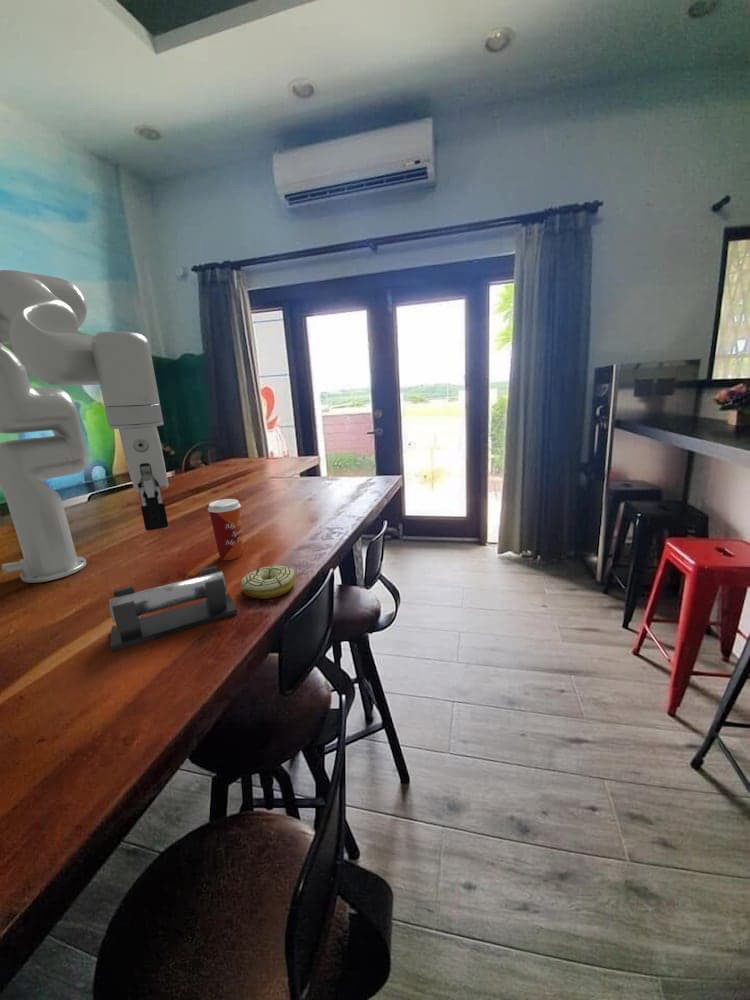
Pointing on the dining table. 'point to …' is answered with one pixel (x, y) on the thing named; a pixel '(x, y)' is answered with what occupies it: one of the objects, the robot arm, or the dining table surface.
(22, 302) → the robot arm
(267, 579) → the decorated donut
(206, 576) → the rail
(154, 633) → the cradle stand
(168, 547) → the dining table surface
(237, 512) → the paper cup
